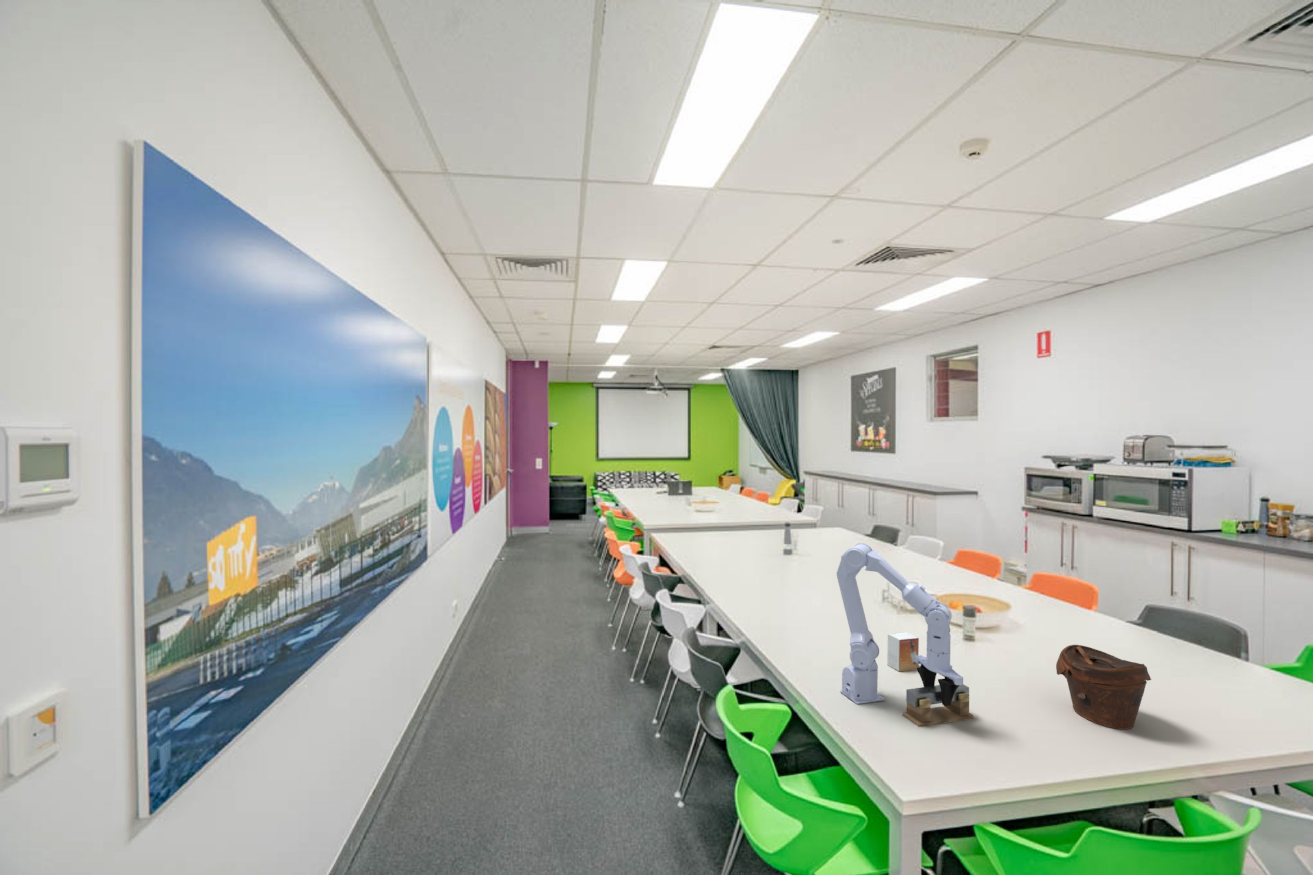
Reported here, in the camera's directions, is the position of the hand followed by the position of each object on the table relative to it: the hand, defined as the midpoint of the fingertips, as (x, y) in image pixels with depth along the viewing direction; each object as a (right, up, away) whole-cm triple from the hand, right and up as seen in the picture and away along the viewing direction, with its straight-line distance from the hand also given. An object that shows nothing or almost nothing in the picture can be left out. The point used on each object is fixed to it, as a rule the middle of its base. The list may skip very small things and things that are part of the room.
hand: (937, 699), depth 142 cm
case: (+46, -6, +2) cm, 47 cm away
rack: (0, -5, 0) cm, 5 cm away
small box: (+5, -5, +32) cm, 33 cm away
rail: (0, 0, 0) cm, 0 cm away
